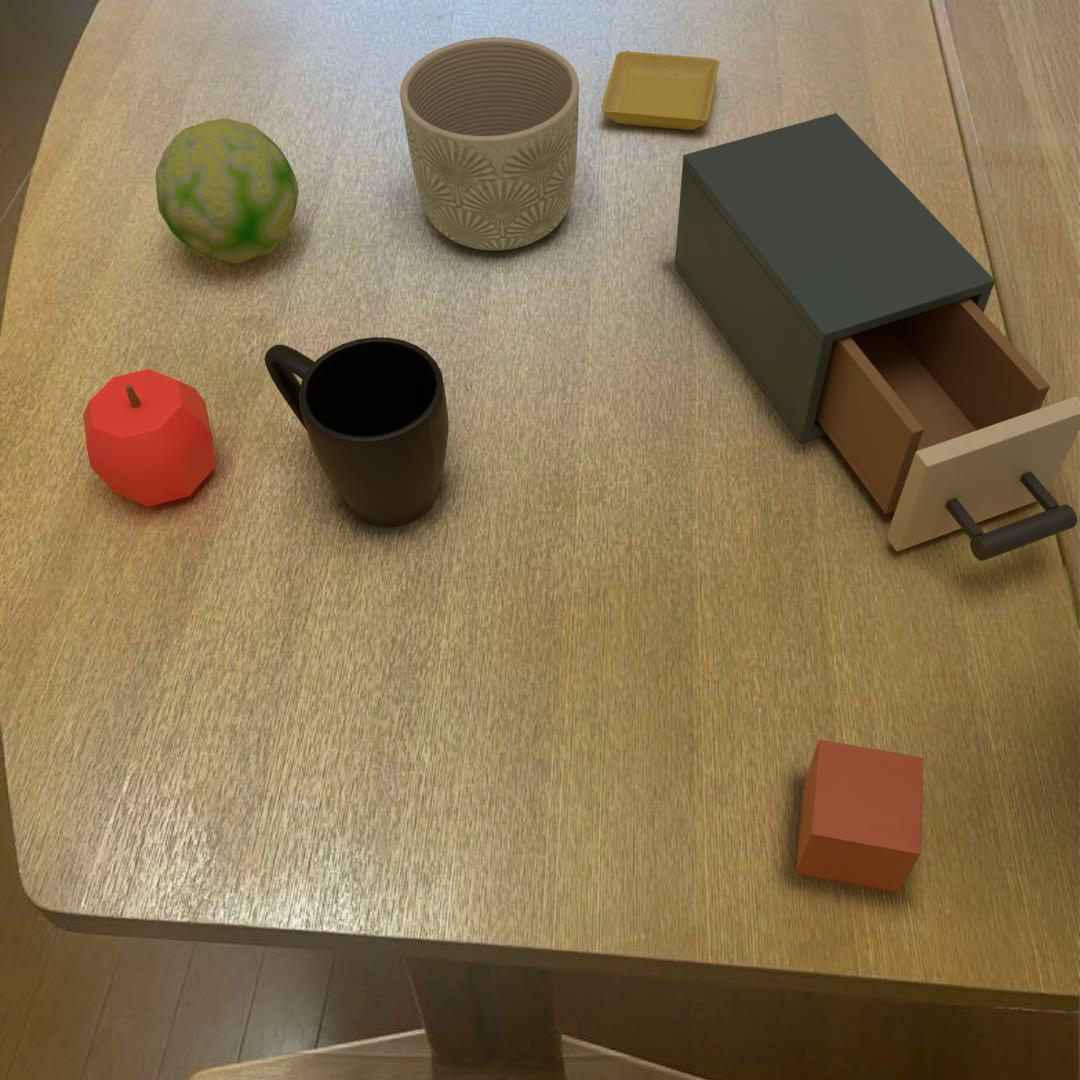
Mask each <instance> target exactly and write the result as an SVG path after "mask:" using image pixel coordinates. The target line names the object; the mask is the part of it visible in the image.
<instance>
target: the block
mask: <svg viewBox="0 0 1080 1080" xmlns="http://www.w3.org/2000/svg"><path fill="white" fill-rule="evenodd" d="M923 778H924V758H923V756H917V755H911V754H905V753H899V752H894V751H888V750H882V749H877V748H876V749H875V748H871V747H864V746H858V745H855V744H847V743H842V742H836V741H830V740H825V739H818V741H817V744H816V747H815V749H814V752H813V756H812V758H811V762H810V764H809V767H808V769H807V773H806V775H805V778H804V782H803V786H802V787H803V789H802V800H801V808H800V809H801V810H800V822H799V831H798V844H797V855H796V865H795V874H797V875H802V876H806V877H807V876H808V877H813V878H817V879H823V880H828V881H834V882H839V883H844V884H850V885H855V886H859V887H864V888H871V889H875V890H880V891H886V892H892V893H895V894H896V893H899V891H900V890H901V888H902V886H903V885H904V883H905V881H906V880H907V878H908V877H909V874H910V873H911V871H912V869H913V868H914V866H915V864H916V862H917V861H918V859H919V858H920V856H921V854H922V822H923V821H922V819H923V785H924V783H923V781H924V780H923Z"/></svg>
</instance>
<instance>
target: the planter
mask: <svg viewBox="0 0 1080 1080" xmlns="http://www.w3.org/2000/svg"><path fill="white" fill-rule="evenodd" d="M399 94H400V95H399V97H400V104H401V108H402V109H401V110H402V115H403V120H404V127H405V132H406V138H407V143H408V149H409V156H410V160H411V161H410V162H411V166H412V170H413V171H412V172H413V176H414V180H415V185H416V189H417V193H418V196H419V199H420V202H421V205H422V207H423V210H424V212H425V214H426V217H427V218H428V220H429V221H430V223H431V224H432V225H433V227H434V228H435V229H436V230H437V231H438V232H439V233H440V234H441V235H443V236H444V237H446V238H447V239H449V240H450V241H452V242H454V243H456V244H459V245H460V246H464V247H468V248H471V249H476V250H481V251H493V252H494V251H495V252H497V251H508V250H513V249H518V248H522V247H526V246H529V245H531V244H533V243H535V242H537V241H539V240H541V239H543V238H545V237H546V236H547V235H549V234H550V233H551V232H552V231H554V230H555V229H556V228H557V227H558V225H559V224H560V223H561V222H562V221H563V219H564V217H565V216H566V214H567V212H568V210H569V207H570V205H571V202H572V198H573V197H572V196H573V193H574V187H575V181H576V172H577V160H578V159H577V157H578V136H579V132H578V131H579V107H580V106H579V103H580V80H579V77H578V74H577V72H576V70H575V68H574V67H573V66H572V65H571V63H570V62H569V61H568V60H567V59H566V57H564V56H563V55H561V54H560V53H559V52H557V51H555V50H553V49H552V48H549V47H547V46H545V45H542V44H540V43H537V42H533V41H529V40H525V39H520V38H513V37H492V36H491V37H478V38H470V39H466V40H461V41H457V42H453V43H450V44H447V45H444V46H442V47H440V48H437V49H435V50H433V51H431V52H430V53H428V54H426V55H424V56H423V57H422V58H420V59H419V60H418V61H417V62H416V63H414V64H413V65H412V66H411V67H410V68H409V70H408V71H407V72H406V73H405V75H404V77H403V79H402V81H401V85H400V89H399Z"/></svg>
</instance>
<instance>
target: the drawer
mask: <svg viewBox="0 0 1080 1080" xmlns="http://www.w3.org/2000/svg"><path fill="white" fill-rule="evenodd" d="M1050 388H1051V385H1050V384H1049V382H1048V381H1046V379H1045V378H1044V377H1043V376H1042V375H1041V373H1039V372H1038V371H1037V369H1036V368H1035V367H1034V366H1033V365H1032V364H1031V363H1030V362H1029V361H1028V360H1027V359H1026V357H1024V355H1022V353H1021V352H1020V351H1019V350H1018V349H1017V348H1016V347H1015V345H1013V344H1012V342H1010V340H1009V339H1008V338H1007V337H1006V336H1005V334H1004V333H1002V331H1001V330H1000V329H999V328H998V327H997V326H996V325H995V324H994V323H993V322H992V320H991V319H990V318H989V317H988V316H987V315H986V314H985V313H983V312H982V311H981V310H980V309H979V308H978V306H977V305H976V304H975V303H974V302H973V301H972V300H971V299H970V298H966V299H963V300H960V301H956V302H953V303H950V304H947V305H944V306H941V307H938V308H934V309H931V310H928V311H925V312H922V313H919V314H916V315H912V316H909V317H906V318H903V319H900V320H897V321H893V322H890V323H887V324H884V325H881V326H878V327H875V328H871V329H868V330H865V331H862V332H859V333H856V334H853V335H849V336H846V337H843V338H840V339H837V340H834V341H833V345H832V349H831V353H830V358H829V362H828V366H827V371H826V375H825V379H824V384H823V388H822V392H821V397H820V401H819V405H818V410H817V414H816V420H817V421H818V423H819V424H820V425H821V427H822V428H823V429H824V431H825V432H826V433H827V435H826V436H827V437H828V438H829V439H830V440H831V442H832V443H833V445H834V446H835V447H836V448H837V450H838V451H839V453H840V454H841V455H842V457H843V458H844V459H845V461H846V462H847V464H848V465H849V466H850V468H851V469H852V470H853V472H854V473H855V475H856V476H857V478H858V479H859V480H860V481H861V483H862V484H863V485H864V487H865V488H866V489H867V491H868V493H869V494H870V495H871V497H872V498H873V499H874V500H875V502H876V503H877V504H878V506H879V507H880V508H881V510H882V511H883V513H884V514H885V515H887V514H889V513H893V512H894V514H893V516H892V520H891V523H890V525H889V528H888V532H887V534H886V539H887V540H888V542H889V543H890V544H891V546H892V547H893V548H894V550H895V552H900V551H903V550H905V549H908V548H911V547H914V546H917V545H920V544H922V543H924V542H927V541H931V540H933V539H936V538H939V537H941V536H944V535H947V534H950V533H952V532H955V531H957V530H961V529H962V530H963V532H964V533H965V534H966V536H967V537H968V538H969V540H970V542H969V546H970V550H971V553H972V555H973V556H974V558H975V559H976V560H978V561H980V562H984V561H987V560H989V559H992V558H993V559H994V558H996V557H998V556H1000V555H1003V554H1006V553H1008V552H1012V551H1014V550H1017V549H1019V548H1022V547H1026V546H1028V545H1030V544H1032V543H1035V542H1039V541H1041V540H1044V539H1047V538H1049V537H1052V536H1055V535H1058V534H1061V533H1062V532H1067V531H1069V530H1071V529H1074V528H1075V527H1076V526H1077V524H1078V516H1077V514H1076V511H1075V509H1074V508H1073V507H1072V506H1070V505H1069V504H1065V503H1064V504H1060V503H1059V502H1058V501H1057V500H1056V499H1055V497H1054V496H1053V495H1052V494H1051V493H1050V490H1051V489H1052V487H1053V485H1054V482H1055V480H1056V478H1057V476H1058V474H1059V472H1060V470H1061V468H1062V466H1063V465H1064V462H1065V460H1066V458H1067V456H1068V454H1069V452H1070V450H1071V448H1072V446H1073V444H1074V442H1075V440H1076V438H1077V437H1078V434H1079V432H1080V398H1079V397H1078V396H1073V397H1070V398H1067V399H1064V400H1061V401H1059V402H1055V403H1053V404H1050V405H1047V406H1044V407H1042V406H1043V403H1044V402H1045V399H1046V397H1047V394H1048V392H1049V391H1050ZM1035 502H1037V503H1038V504H1039V505H1040V506H1041V508H1042V509H1043V510H1044V511H1042V512H1039V513H1036V514H1033V515H1031V516H1028V517H1025V518H1023V519H1020V520H1017V521H1014V522H1011V523H1009V524H1006V525H1003V526H1001V527H997V528H995V529H991V530H989V531H987V532H984V531H983V530H982V528H981V527H980V526H979V524H978V523H980V522H983V521H985V520H989V519H992V518H993V517H996V516H999V515H1002V514H1005V513H1007V512H1010V511H1013V510H1016V509H1018V508H1022V507H1024V506H1027V505H1030V504H1032V503H1035Z"/></svg>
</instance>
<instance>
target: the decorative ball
mask: <svg viewBox="0 0 1080 1080" xmlns="http://www.w3.org/2000/svg"><path fill="white" fill-rule="evenodd" d="M293 170H294V169H293V168H292V166H291V164H290V162H289V161H288V159H287V156H285V153H284V152H283V151H282V149H281V148H280V147H279V146H278V144H277V143H276V142H274V141H273V140H272V138H271V137H269V136H268V135H267V134H265V132H263V131H262V130H261V129H259V128H258V127H257V126H256V125H253V124H251V123H248V122H243V121H237V120H235V119H231V118H227V117H222V118H217V119H212V120H207V121H204V122H200V123H197V124H195V125H191V126H188V127H185V128H184V129H182V130H181V131H179V133H178V134H176V135H175V136H174V137H173V138H172V140H171V141H170V143H169V144H168V145H167V146H165V149H164V150H163V152H162V155H161V158H160V161H159V162H158V165H157V167H156V170H155V177H154V178H155V189H156V200H157V208H158V212H159V214H160V216H161V218H162V219H163V220H164V222H165V224H166V225H167V226H168V228H169V230H170V232H171V233H172V235H174V236H175V237H176V238H177V239H178V240H179V241H180V242H181V243H182V244H183V245H185V247H187V248H188V249H189V250H190V251H191V252H193V253H194V254H195V255H197V256H200V257H202V258H206V259H209V260H210V259H211V260H214V261H220V262H226V263H232V264H233V263H234V264H240V263H243V262H247V261H251V260H253V259H255V258H258V257H261V256H264V255H266V254H269V253H270V252H272V251H273V250H274V249H275V248H276V247H277V246H278V245H279V243H280V242H281V241H282V240H283V238H284V237H285V236H286V234H287V232H288V231H289V229H290V227H291V225H292V223H293V220H294V216H295V215H296V209H297V206H298V200H299V193H300V192H299V182H298V180H297V177H296V175H295V173H294V171H293Z"/></svg>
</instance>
